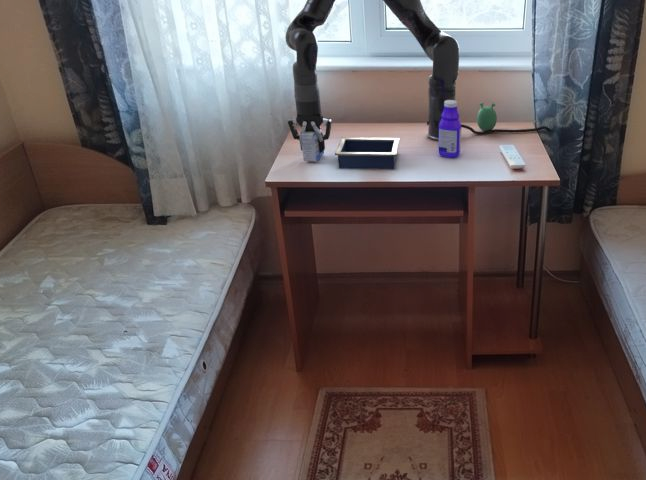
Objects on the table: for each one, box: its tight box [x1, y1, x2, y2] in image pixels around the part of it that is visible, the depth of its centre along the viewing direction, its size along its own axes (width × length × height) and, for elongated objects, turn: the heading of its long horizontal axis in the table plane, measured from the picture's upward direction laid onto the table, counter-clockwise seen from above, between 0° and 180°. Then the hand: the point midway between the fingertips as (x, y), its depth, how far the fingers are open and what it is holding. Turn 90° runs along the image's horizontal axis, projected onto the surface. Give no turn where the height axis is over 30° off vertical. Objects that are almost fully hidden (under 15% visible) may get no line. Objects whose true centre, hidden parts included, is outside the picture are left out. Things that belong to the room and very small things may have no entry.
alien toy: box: [476, 101, 498, 132], centre depth 237 cm, size 7×8×10 cm
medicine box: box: [299, 127, 325, 163], centre depth 213 cm, size 8×4×9 cm, turn 168°
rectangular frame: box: [334, 137, 400, 170], centre depth 213 cm, size 19×15×5 cm
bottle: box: [437, 99, 462, 159], centre depth 214 cm, size 7×6×17 cm
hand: (313, 151), depth 215 cm, fingers closed on medicine box, 5 cm apart
